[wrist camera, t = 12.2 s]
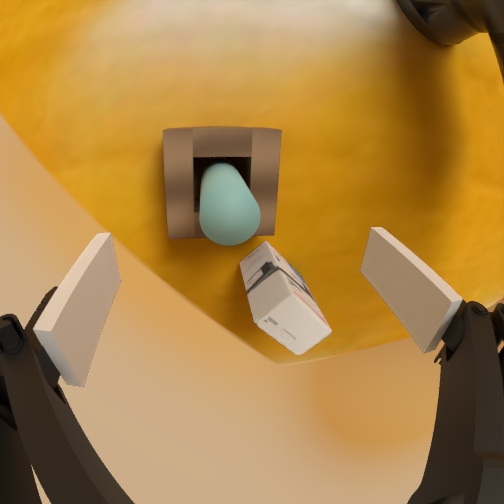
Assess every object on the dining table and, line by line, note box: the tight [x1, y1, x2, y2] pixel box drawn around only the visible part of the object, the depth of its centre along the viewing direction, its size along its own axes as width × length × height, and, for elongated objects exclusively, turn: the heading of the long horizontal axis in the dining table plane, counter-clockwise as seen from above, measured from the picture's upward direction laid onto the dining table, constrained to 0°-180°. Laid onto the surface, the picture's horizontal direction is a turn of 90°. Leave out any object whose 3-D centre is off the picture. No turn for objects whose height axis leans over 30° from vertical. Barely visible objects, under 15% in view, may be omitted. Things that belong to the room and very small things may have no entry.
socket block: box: [163, 127, 282, 239], centre depth 28 cm, size 11×11×5 cm
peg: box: [199, 157, 261, 246], centre depth 24 cm, size 4×4×14 cm
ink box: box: [239, 241, 332, 355], centre depth 32 cm, size 8×5×12 cm, turn 41°
